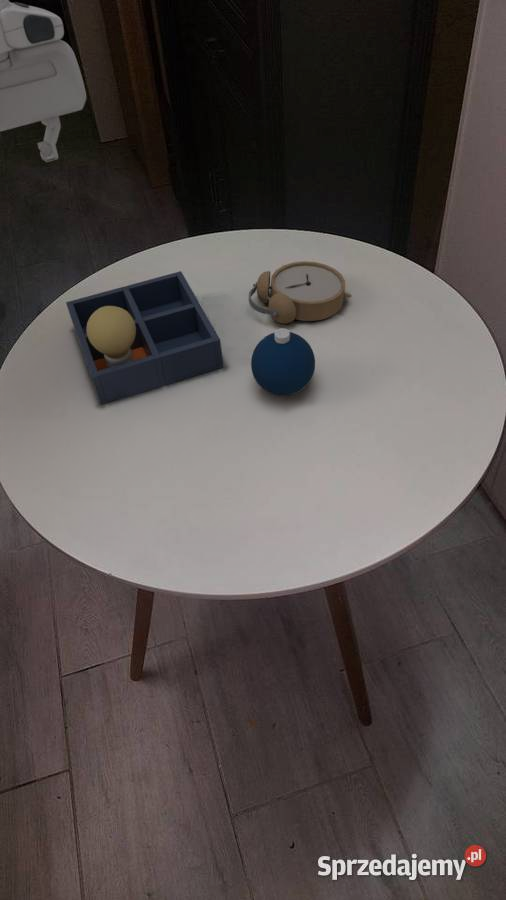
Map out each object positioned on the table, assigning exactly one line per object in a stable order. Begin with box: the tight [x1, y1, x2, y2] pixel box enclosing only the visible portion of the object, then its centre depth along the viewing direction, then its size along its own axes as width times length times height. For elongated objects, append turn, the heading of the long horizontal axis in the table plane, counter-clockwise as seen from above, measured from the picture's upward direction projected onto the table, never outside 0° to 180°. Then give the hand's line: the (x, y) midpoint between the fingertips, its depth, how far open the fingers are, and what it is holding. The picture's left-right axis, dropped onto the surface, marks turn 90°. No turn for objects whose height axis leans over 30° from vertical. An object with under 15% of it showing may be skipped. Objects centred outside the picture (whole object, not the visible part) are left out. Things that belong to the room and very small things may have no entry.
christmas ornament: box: [250, 327, 316, 397], centre depth 89 cm, size 8×8×10 cm
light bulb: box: [87, 306, 136, 368], centre depth 92 cm, size 6×6×10 cm
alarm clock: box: [248, 260, 353, 325], centre depth 103 cm, size 11×5×15 cm
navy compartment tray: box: [65, 270, 224, 405], centre depth 98 cm, size 18×18×5 cm
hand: (11, 170), depth 77 cm, fingers open, 8 cm apart
